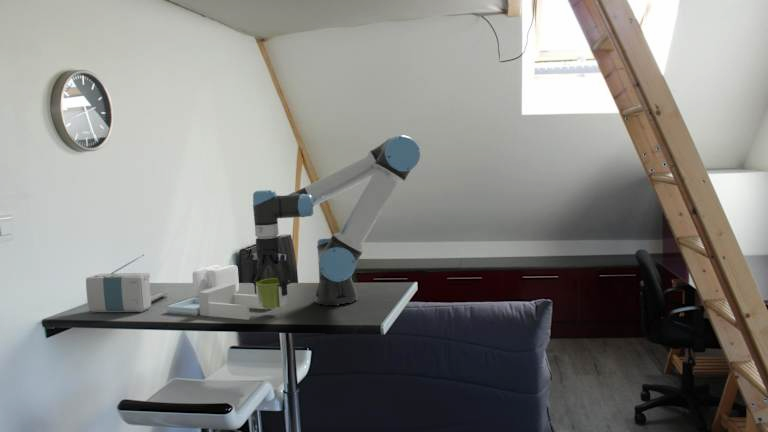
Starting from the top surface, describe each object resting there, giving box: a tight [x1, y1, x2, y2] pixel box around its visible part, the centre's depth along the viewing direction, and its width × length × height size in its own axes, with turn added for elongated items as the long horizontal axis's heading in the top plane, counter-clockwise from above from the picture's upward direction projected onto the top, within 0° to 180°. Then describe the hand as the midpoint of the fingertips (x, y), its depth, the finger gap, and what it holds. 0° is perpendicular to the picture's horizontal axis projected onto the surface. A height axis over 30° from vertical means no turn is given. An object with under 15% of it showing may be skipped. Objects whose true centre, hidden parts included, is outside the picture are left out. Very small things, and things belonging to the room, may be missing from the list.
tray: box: [166, 297, 201, 317], centre depth 208 cm, size 13×13×2 cm
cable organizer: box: [191, 264, 240, 298], centre depth 227 cm, size 15×11×12 cm
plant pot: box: [256, 277, 281, 310], centre depth 195 cm, size 9×9×9 cm
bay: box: [198, 284, 267, 321], centre depth 202 cm, size 20×14×8 cm
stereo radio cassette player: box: [85, 254, 152, 314], centre depth 210 cm, size 21×8×20 cm, turn 82°
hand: (271, 304), depth 196 cm, fingers closed on plant pot, 8 cm apart
